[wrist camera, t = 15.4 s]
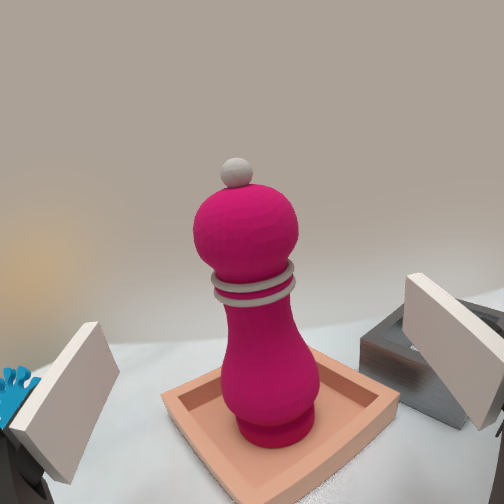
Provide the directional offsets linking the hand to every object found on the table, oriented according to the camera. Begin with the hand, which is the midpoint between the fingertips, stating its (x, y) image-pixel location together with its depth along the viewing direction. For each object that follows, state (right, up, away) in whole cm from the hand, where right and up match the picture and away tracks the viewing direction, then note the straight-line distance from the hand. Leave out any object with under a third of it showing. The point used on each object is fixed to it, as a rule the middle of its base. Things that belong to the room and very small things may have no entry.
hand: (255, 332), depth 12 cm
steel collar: (+18, -8, +13) cm, 23 cm away
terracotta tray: (+2, -11, +11) cm, 16 cm away
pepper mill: (+2, -11, +11) cm, 15 cm away
